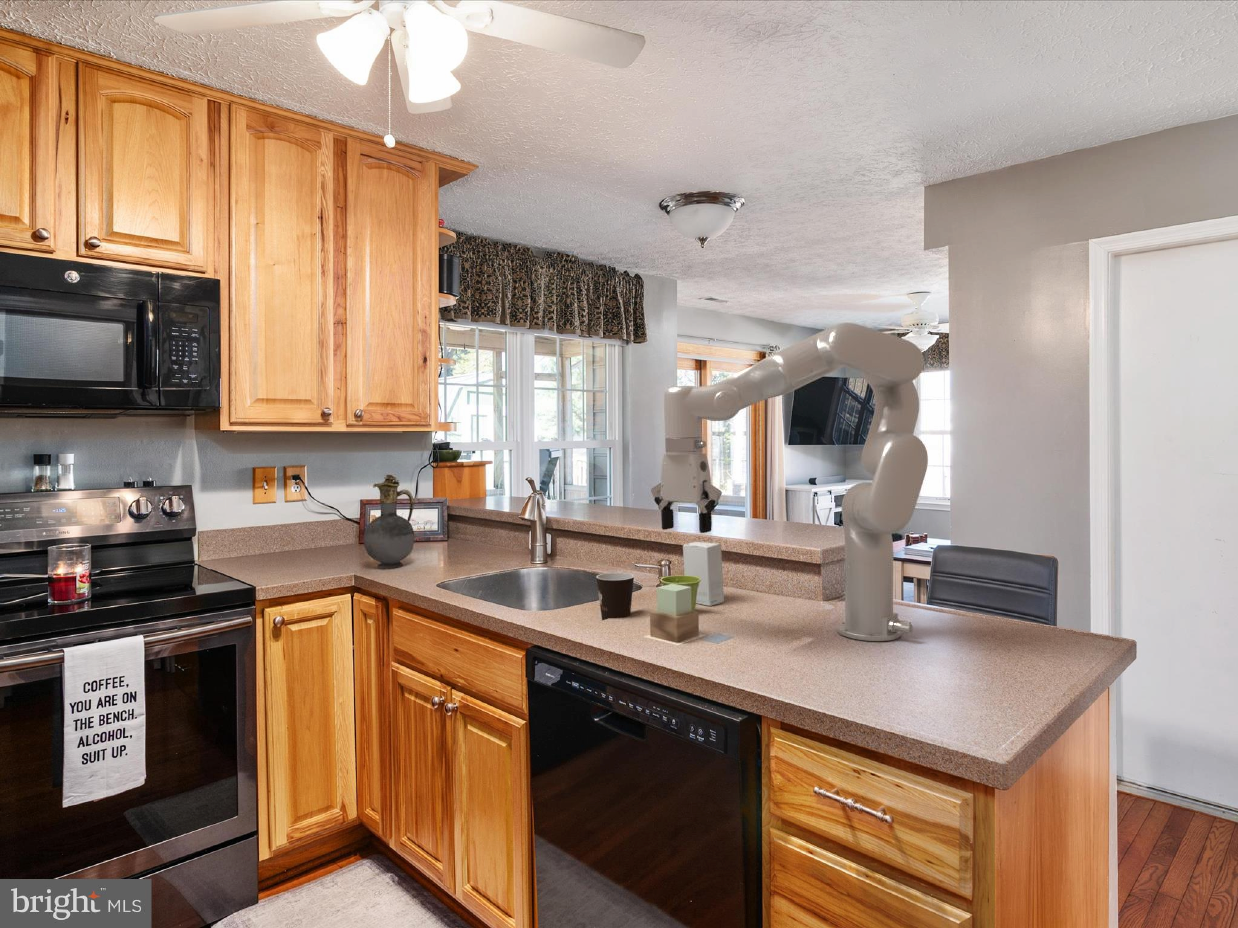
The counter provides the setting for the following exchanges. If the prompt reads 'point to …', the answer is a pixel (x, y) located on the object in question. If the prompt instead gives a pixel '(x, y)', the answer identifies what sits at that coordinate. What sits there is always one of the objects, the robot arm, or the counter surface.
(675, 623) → the walnut block
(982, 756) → the counter surface
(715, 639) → the blueprint board
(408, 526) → the pitcher
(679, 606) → the sage cube
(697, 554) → the skincare box
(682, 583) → the plant pot
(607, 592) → the coffee mug
